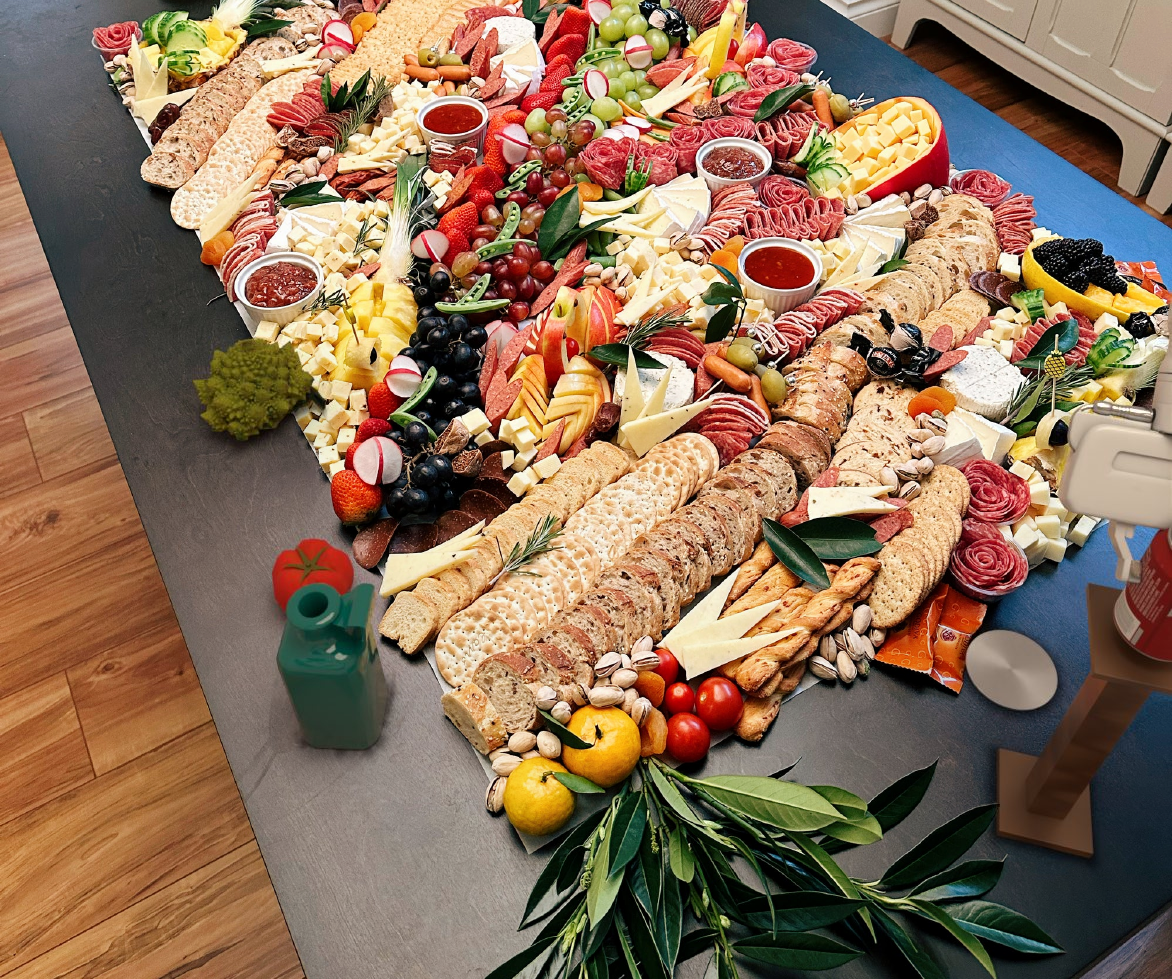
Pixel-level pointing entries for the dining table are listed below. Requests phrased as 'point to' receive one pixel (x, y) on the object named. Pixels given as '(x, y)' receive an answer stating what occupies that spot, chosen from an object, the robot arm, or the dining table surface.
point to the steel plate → (1011, 670)
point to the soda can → (1149, 602)
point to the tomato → (311, 569)
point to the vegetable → (255, 387)
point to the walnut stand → (1078, 740)
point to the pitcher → (333, 666)
